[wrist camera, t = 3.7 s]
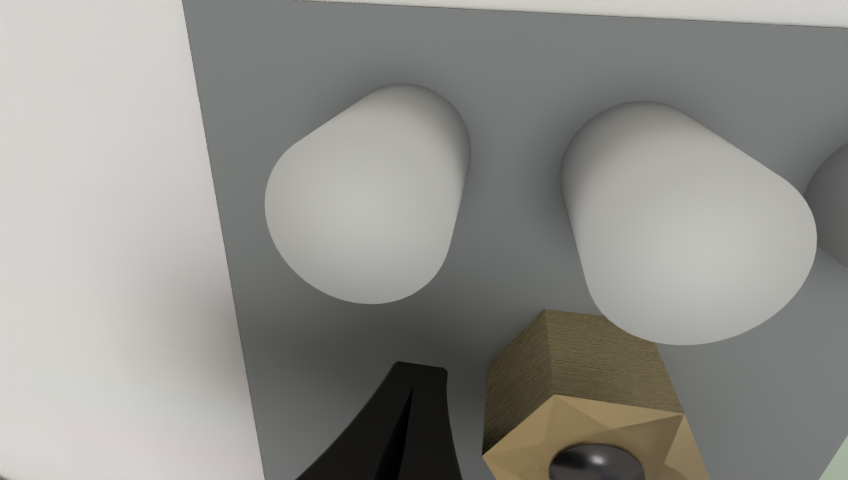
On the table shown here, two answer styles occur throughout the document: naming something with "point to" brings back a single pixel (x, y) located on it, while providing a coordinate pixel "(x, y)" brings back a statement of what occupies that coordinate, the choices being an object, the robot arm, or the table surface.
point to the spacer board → (531, 211)
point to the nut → (584, 406)
